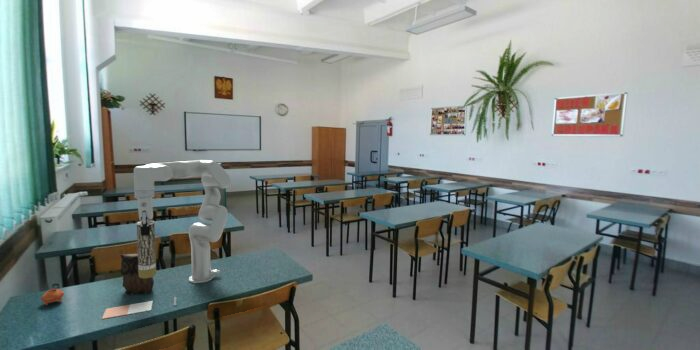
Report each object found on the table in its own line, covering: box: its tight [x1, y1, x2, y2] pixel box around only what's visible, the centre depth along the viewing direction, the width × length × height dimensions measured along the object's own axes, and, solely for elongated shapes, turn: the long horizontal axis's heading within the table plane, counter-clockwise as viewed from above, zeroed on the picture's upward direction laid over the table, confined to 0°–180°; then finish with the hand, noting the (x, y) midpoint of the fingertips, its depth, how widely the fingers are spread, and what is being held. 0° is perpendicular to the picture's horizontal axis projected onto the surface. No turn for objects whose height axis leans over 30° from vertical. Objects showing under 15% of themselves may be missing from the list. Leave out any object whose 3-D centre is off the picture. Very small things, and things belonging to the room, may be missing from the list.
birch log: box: [136, 220, 157, 278], centre depth 148 cm, size 7×7×25 cm
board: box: [101, 296, 177, 320], centre depth 150 cm, size 28×9×1 cm, turn 117°
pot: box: [40, 288, 65, 306], centre depth 152 cm, size 8×8×7 cm
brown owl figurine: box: [120, 253, 155, 296], centre depth 164 cm, size 13×13×20 cm
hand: (145, 232), depth 147 cm, fingers closed on birch log, 6 cm apart
